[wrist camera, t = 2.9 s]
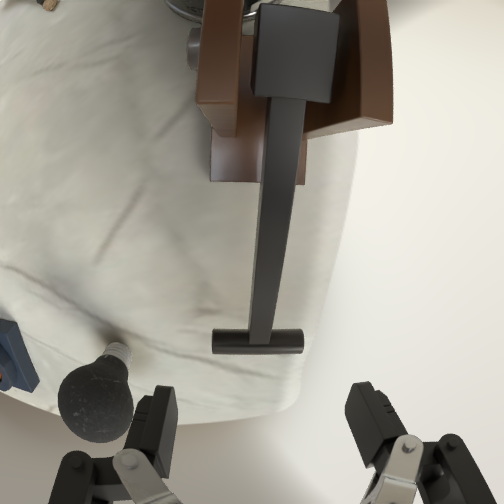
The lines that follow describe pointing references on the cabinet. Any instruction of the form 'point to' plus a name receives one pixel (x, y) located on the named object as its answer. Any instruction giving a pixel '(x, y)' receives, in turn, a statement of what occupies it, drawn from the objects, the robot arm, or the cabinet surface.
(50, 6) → the beads
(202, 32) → the switch bracket
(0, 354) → the dimmer box
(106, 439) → the light bulb
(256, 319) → the switch lever
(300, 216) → the cabinet surface
